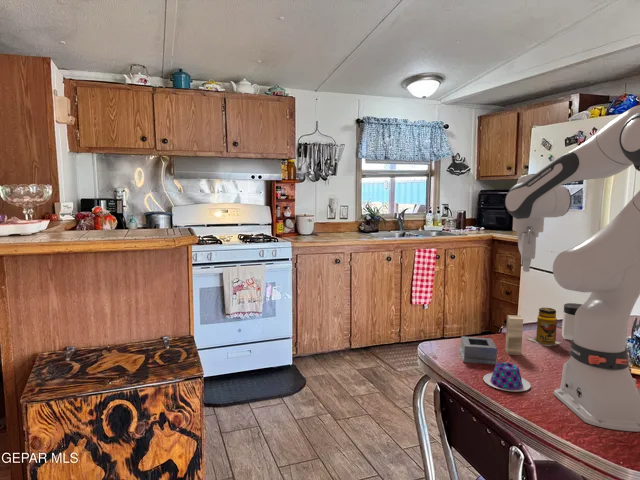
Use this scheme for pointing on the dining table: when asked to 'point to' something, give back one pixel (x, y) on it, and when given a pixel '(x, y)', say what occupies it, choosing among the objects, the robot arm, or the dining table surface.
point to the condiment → (546, 327)
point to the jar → (569, 320)
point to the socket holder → (478, 350)
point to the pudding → (507, 378)
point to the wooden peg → (514, 334)
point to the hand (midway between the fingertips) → (525, 268)
